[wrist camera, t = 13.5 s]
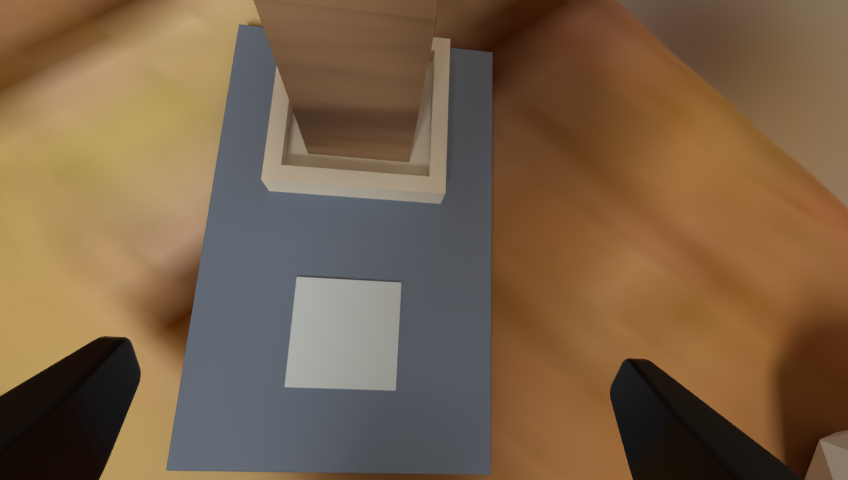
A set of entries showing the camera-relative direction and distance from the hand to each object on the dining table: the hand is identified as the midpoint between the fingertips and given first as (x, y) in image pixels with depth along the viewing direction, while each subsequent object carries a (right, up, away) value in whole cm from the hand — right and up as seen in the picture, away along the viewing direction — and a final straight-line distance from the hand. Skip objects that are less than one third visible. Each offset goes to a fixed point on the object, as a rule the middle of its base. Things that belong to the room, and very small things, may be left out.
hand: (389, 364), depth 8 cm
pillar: (-3, +9, +14) cm, 17 cm away
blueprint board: (-3, +3, +14) cm, 15 cm away
